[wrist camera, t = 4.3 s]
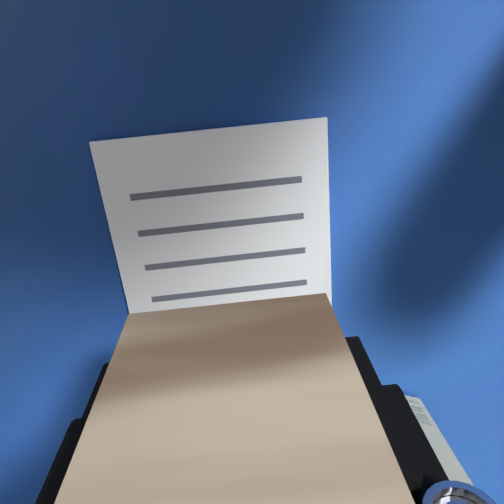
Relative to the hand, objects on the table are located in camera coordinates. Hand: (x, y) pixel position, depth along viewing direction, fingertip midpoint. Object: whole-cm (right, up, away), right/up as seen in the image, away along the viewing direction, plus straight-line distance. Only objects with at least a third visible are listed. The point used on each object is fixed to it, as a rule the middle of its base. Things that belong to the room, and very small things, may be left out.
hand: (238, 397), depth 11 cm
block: (0, 0, +1) cm, 1 cm away
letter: (-1, +3, +9) cm, 10 cm away
